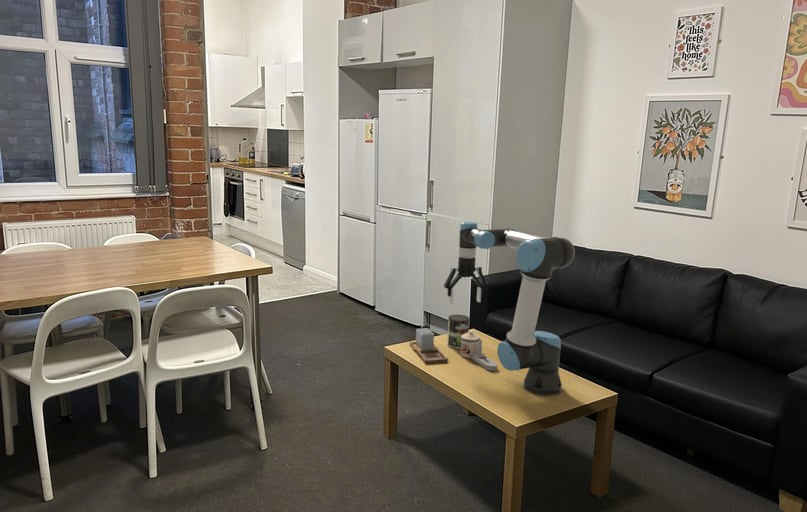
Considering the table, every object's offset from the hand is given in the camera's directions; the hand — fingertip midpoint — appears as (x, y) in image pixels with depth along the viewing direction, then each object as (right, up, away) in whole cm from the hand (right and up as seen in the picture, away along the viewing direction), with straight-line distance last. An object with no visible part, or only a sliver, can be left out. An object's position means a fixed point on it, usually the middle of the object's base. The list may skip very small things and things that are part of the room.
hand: (464, 302), depth 256 cm
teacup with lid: (+4, -26, +7) cm, 27 cm away
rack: (-16, -25, +9) cm, 31 cm away
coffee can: (-1, -23, +21) cm, 31 cm away
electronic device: (+9, -28, -3) cm, 29 cm away
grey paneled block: (-18, -23, +14) cm, 32 cm away
